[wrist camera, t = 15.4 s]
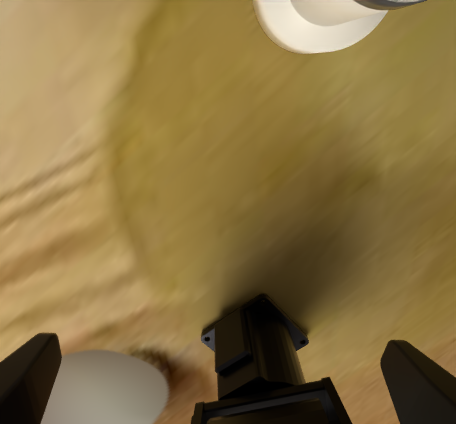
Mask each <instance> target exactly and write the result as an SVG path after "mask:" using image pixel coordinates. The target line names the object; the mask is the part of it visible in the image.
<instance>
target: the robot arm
mask: <svg viewBox="0 0 456 424" xmlns="http://www.w3.org/2000/svg"><path fill="white" fill-rule="evenodd" d="M263 300H264V302H261V301H263ZM301 340H302V341H301ZM201 341H202V342H203V343H204V344H205V345H207V346H208V347H209V348H210V349H211V350H213V351H214V352H215V372H216V373H217V381H218V401H213V402H207V403H205V402H199V403H196V404H195V410H194V415H193V416H192V420H191V424H352V422H351V420H350V418H349V416H348V414H347V412H346V410H345V408H344V406H343V404H342V402H341V399H340V397H339V395H338V393H337V391H336V389H335V387H334V385H333V383H332V381H331V379H330V377H327V378H321V380H320V381H314V382H309V383H306V382H305V379H304V375H303V372H302V369H301V366H300V362H299V359H298V356H297V352H296V351H297V350H299V349H301V348H302V347H304V346H306V345H307V344H308V343H309V340H308V337H307V335H306V334H305V333H304V332H303V331H302V330H301V329H300V328H299V327H298V326H297V325H296V324H295V323H294V322H293V321H292V320H291V319H290V318H289V317H288V316H287V315H286V314H285V313H284V312H283V311H282V310H281V309H280V308H279V307H278V306H277V305H276V304H275V303H274V302H273V301H272V300H271V299H270V298H269V297H268V296H267V295H264V294H261V295H259V296H257V297H255V298H254V299H252V300H251V301H249V302H248V303H246V304H245V305H243V306H242V307H240V308H239V309H237V310H236V311H234V312H233V313H231V314H230V315H228V316H226V317H225V318H223V319H222V320H220V321H219V322H217V323H216V324H214V325H213V326H211V327H210V328H208V329H207V330H205V331H204V332H202V334H201ZM61 358H62V355H61V350H60V345H59V340H58V336H57V334H56V333H39V334H37V335H35V336H34V337H33V338H31V339H30V340H29V341H27V342H26V343H25V344H24V345H22V346H21V347H20V348H18V349H17V350H16V351H14V352H13V353H12V354H10V355H9V356H8V357H7V358H5V359H4V360H3V361H1V362H0V424H40V423H41V420H42V418H43V415H44V412H45V409H46V406H47V403H48V400H49V397H50V394H51V391H52V388H53V385H54V382H55V379H56V376H57V373H58V370H59V367H60V364H61ZM380 363H381V369H382V372H383V375H384V378H385V381H386V384H387V387H388V390H389V393H390V396H391V399H392V401H393V404H394V407H395V410H396V413H397V416H398V419H399V421H400V424H456V377H454V376H453V375H452V374H450V373H449V372H447V371H446V370H445V369H443V368H442V367H441V366H439V365H438V364H437V363H435V362H434V361H433V360H431V359H430V358H429V357H427V356H426V355H425V354H423V353H422V352H420V351H419V350H418V349H416V348H415V347H414V346H412V345H411V344H410V343H408V342H407V341H404V340H390V341H389V342H388V344H387V346H386V348H385V351H384V353H383V355H382V358H381V362H380Z"/></svg>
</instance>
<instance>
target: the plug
mask: <svg viewBox="0 0 456 424" xmlns="http://www.w3.org/2000/svg"><path fill="white" fill-rule="evenodd" d="M424 1H427V0H252V2H253V7H254V11H255V14H256V17H257V19H258V22H259V24H260V26H261V27H262V29H263V31H264V32H265V33H266V35H267V36H268V37H269V38H270V39H271V40H272V41H273V42H274V43H275V44H277V45H278V46H279V47H281V48H283V49H285V50H287V51H290V52H293V53H298V54H311V53H322V52H332V51H337V50H341V49H344V48H346V47H349V46H351V45H353V44H355V43H357V42H358V41H360V40H361V39H363V38H364V37H365V36H367V35H368V34H369V33H370V32H371V31H372V30H373V29H374V28H375V27H376V26H377V25H378V24H379V23H380V22H381V20H382V19H383V18H384V16H385V15H386V13H387V12H388V10H395V9H399V8H403V7H406V6H410V5H413V4H417V3H420V2H424Z"/></svg>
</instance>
